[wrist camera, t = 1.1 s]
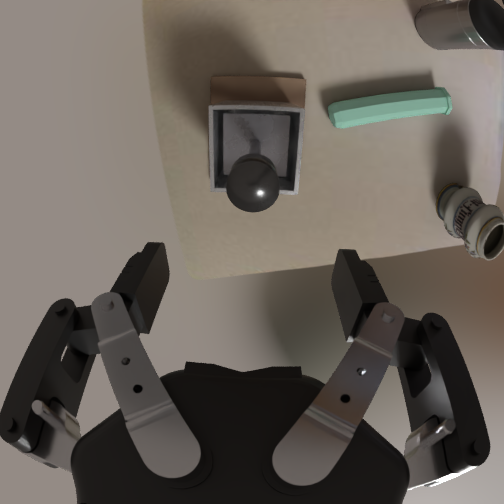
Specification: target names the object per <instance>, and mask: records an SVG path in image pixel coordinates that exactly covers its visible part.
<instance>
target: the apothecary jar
mask: <svg viewBox="0 0 504 504" xmlns="http://www.w3.org/2000/svg"><path fill="white" fill-rule="evenodd" d="M436 211H437V214H438V216H439V218H440V219H442V220H443V221H444V226H445V228H446V230H447V232H448V233H449V234H450V235H451V236H453V237H455V238H462V239H463V240H464V241H465V247H466V250H467V252H468V253H469V254H470V255H471V256H472V257H474V258H484V259H486V260H492V259H494V258H496V257H497V256H498V255H499V254H500V253H501V252H502V250H503V249H504V216H503V213H502V212H501V210H500V209H499V208H498V207H497V206H495V205H486V204H484V203H483V201H482V198H481V196H480V195H479V193H478V192H477V191H476V190H474V189H472V188H468V187H465V188H463V187H462V186H458V185H457V184H456V183H452V184H449V185H447V186H446V187H445V188H444V189H443V190H442V191H441V192H440V194H439V196H438V198H437V202H436Z"/></svg>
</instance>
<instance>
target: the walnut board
mask: <svg viewBox="0 0 504 504" xmlns="http://www.w3.org/2000/svg"><path fill="white" fill-rule="evenodd" d="M305 91H306V80H305V79H295V78H283V77H265V76H213V77H211V105H212V104H216V103H218V102H222V101H226V100H244V101H274V102H289V103H292V104H295V105H297V106H300V107H302V108H305Z"/></svg>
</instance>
